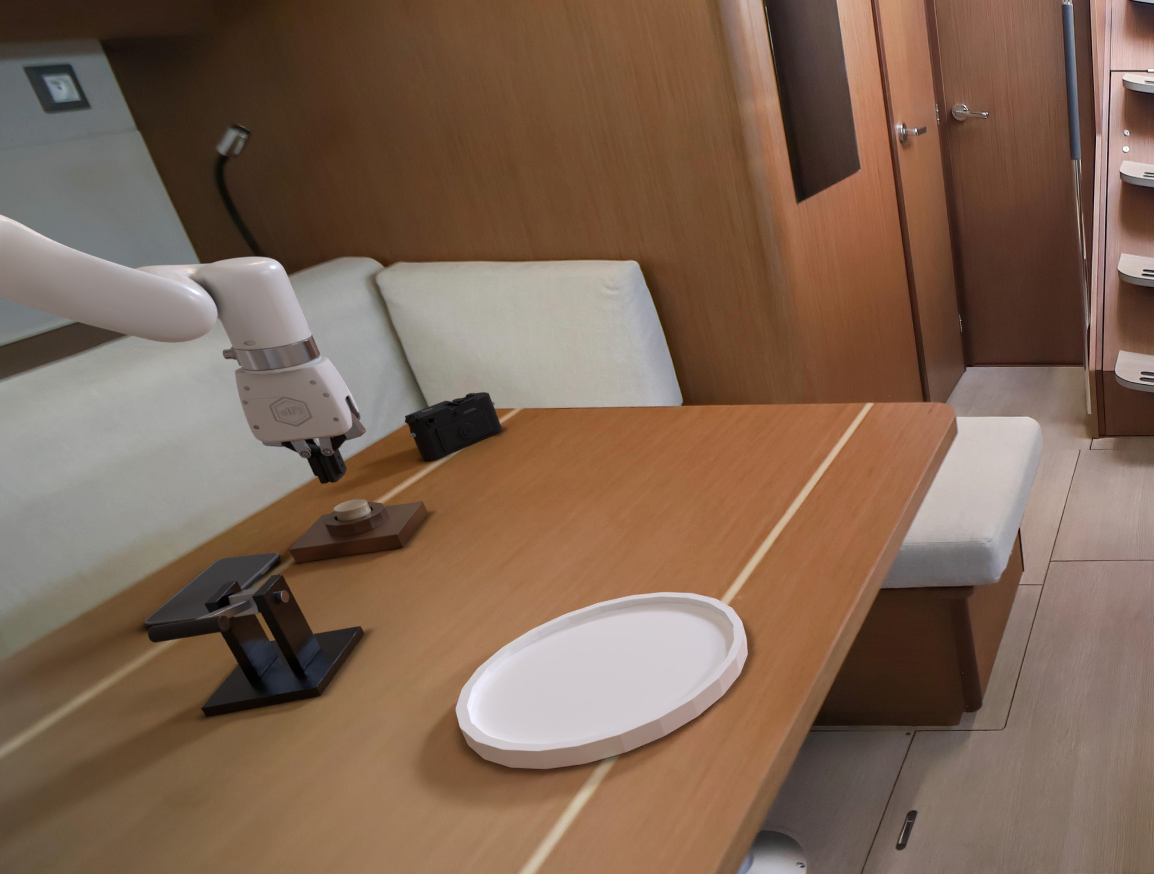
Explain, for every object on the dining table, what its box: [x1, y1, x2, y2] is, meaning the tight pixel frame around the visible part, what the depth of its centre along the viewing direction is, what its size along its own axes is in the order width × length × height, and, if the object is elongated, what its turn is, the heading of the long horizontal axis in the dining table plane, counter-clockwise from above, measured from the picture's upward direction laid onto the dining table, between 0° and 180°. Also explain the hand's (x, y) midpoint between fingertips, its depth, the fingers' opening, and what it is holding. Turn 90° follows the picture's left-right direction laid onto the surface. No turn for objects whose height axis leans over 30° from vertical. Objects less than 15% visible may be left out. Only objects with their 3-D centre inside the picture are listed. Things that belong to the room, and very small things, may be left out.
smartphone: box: [143, 552, 282, 628], centre depth 124 cm, size 7×1×15 cm
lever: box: [147, 587, 261, 644], centre depth 101 cm, size 12×6×2 cm, turn 21°
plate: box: [454, 591, 749, 770], centre depth 110 cm, size 28×28×2 cm
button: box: [332, 498, 371, 521], centre depth 134 cm, size 4×4×2 cm
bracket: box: [200, 573, 365, 717], centre depth 108 cm, size 12×10×12 cm
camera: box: [404, 391, 503, 461], centre depth 162 cm, size 14×7×8 cm, turn 165°
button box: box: [288, 500, 429, 564], centre depth 135 cm, size 12×10×4 cm
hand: (333, 478), depth 132 cm, fingers closed
